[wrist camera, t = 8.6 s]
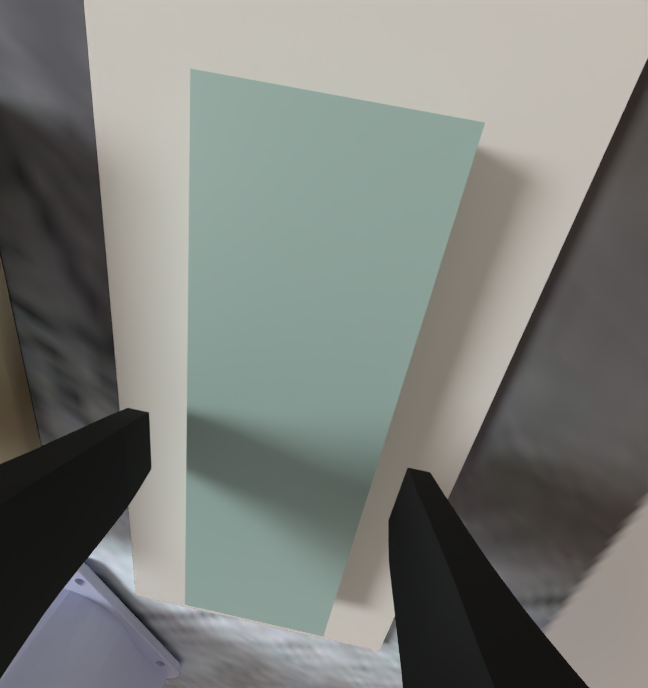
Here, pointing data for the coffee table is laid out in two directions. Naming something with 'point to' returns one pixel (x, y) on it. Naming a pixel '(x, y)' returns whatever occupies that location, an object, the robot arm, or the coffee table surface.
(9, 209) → the coffee table surface
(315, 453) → the lid
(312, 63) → the mat
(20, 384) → the pencil box
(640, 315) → the coffee table surface
